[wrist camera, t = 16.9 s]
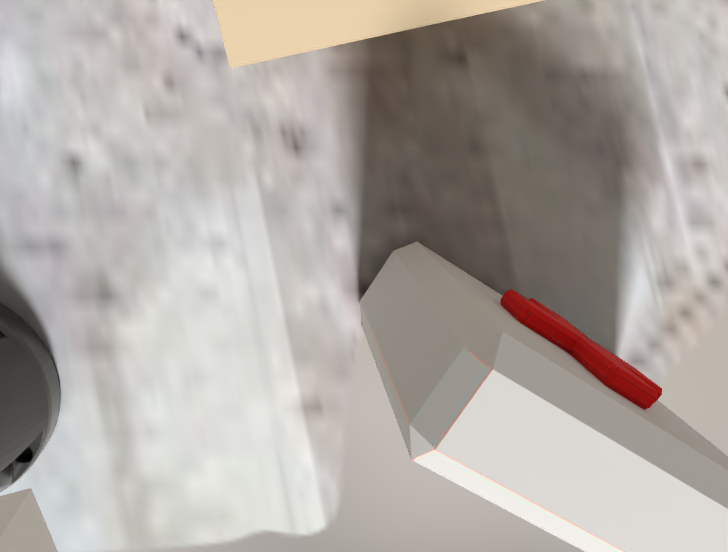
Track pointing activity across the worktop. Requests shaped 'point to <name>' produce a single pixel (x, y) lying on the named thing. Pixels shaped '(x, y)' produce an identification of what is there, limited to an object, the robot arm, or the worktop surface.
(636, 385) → the bevelled white case
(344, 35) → the carton
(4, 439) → the robot arm
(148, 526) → the worktop surface
